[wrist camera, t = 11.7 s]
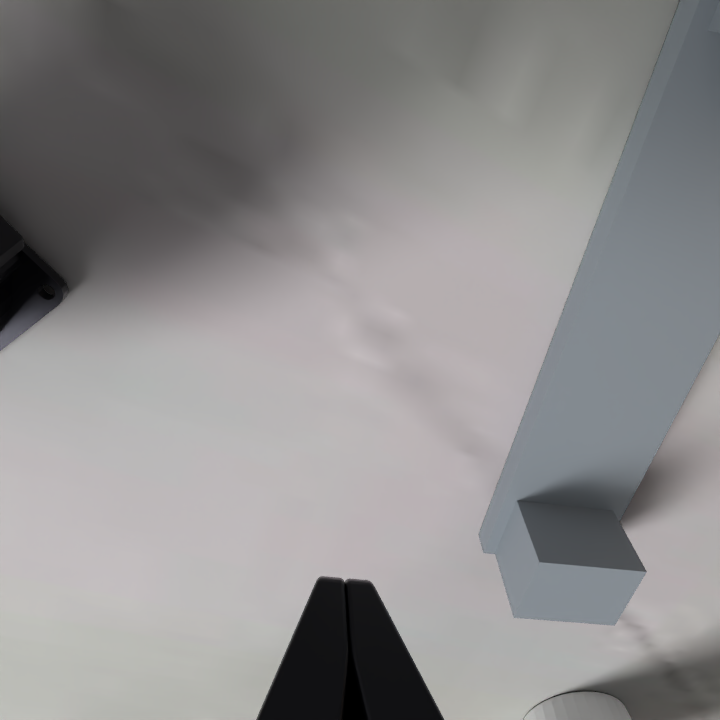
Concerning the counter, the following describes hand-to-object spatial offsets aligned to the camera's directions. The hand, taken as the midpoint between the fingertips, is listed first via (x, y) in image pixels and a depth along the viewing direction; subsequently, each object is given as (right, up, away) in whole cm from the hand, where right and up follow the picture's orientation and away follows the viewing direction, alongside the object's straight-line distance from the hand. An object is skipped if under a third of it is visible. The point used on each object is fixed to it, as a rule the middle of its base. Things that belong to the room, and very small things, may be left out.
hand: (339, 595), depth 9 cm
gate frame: (+10, +6, +11) cm, 16 cm away
